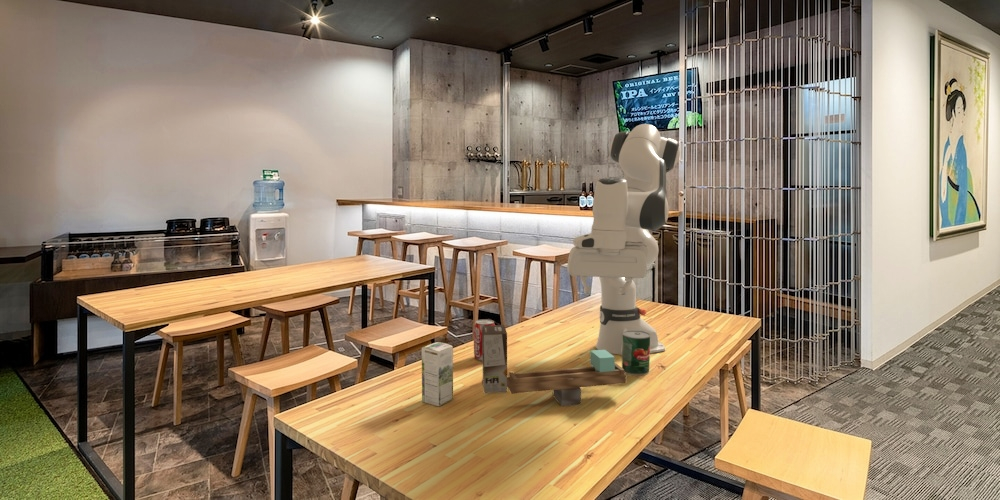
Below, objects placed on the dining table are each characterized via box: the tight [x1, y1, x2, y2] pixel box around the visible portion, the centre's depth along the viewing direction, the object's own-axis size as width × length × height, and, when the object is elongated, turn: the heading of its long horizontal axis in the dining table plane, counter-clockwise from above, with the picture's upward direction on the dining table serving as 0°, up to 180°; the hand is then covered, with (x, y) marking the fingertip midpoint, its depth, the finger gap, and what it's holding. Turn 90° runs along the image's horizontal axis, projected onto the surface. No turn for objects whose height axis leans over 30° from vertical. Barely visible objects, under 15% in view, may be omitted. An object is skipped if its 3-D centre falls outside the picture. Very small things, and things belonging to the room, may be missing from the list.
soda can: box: [473, 318, 496, 362], centre depth 169 cm, size 7×7×12 cm
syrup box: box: [421, 341, 454, 407], centre depth 136 cm, size 6×6×14 cm
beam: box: [507, 362, 627, 407], centre depth 136 cm, size 30×7×8 cm, turn 102°
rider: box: [589, 349, 616, 372], centre depth 137 cm, size 4×6×5 cm, turn 12°
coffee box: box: [482, 324, 508, 394], centre depth 145 cm, size 9×6×16 cm
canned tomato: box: [621, 330, 651, 376], centre depth 157 cm, size 8×8×11 cm
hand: (605, 293), depth 139 cm, fingers open, 8 cm apart
